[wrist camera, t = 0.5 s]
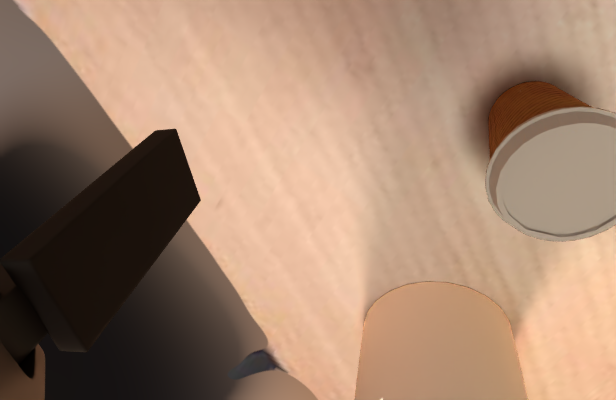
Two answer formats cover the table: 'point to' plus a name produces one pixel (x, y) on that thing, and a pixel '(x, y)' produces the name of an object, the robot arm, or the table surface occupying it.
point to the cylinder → (438, 347)
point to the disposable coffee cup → (551, 163)
